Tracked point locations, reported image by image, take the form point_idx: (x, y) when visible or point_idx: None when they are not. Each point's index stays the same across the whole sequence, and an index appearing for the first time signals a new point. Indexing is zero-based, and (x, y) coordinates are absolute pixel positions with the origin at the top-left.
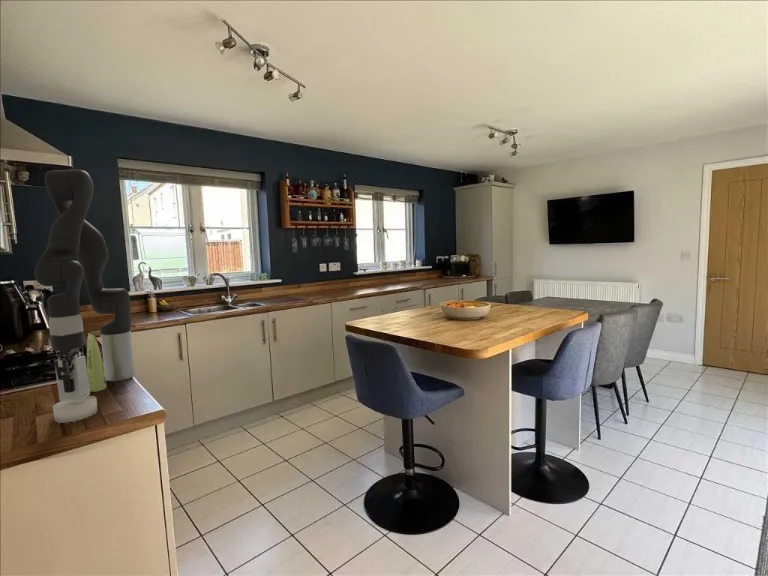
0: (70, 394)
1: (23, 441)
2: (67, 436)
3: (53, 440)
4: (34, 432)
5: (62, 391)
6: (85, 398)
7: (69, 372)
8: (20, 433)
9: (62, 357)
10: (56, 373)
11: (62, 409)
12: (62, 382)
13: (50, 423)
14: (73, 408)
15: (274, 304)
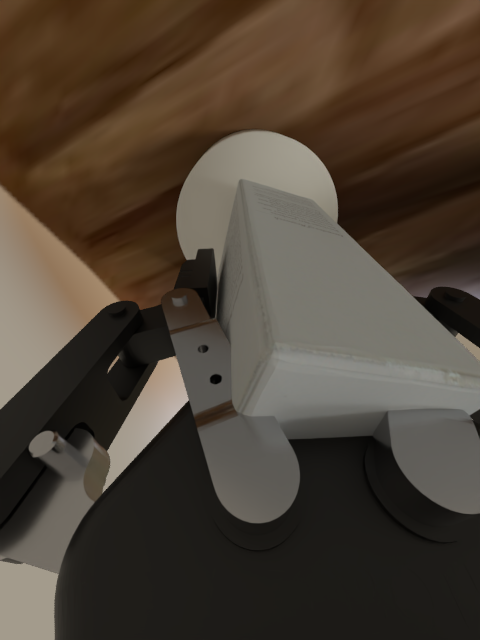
0: (223, 253)
1: (23, 91)
2: (83, 252)
3: (51, 220)
4: (112, 95)
5: (233, 219)
6: None
7: (136, 391)
8: (101, 3)
9: (57, 573)
10: (245, 247)
11: (181, 210)
12: (232, 251)
13: (200, 129)
14: (184, 252)
15: None
